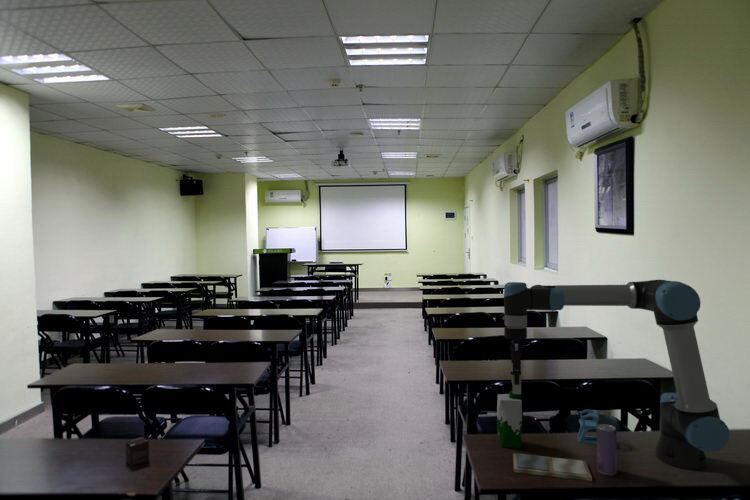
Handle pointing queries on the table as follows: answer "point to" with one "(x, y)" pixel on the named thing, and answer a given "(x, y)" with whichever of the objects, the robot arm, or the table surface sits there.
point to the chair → (588, 426)
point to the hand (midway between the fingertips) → (516, 387)
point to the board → (551, 467)
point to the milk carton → (509, 420)
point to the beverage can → (606, 449)
